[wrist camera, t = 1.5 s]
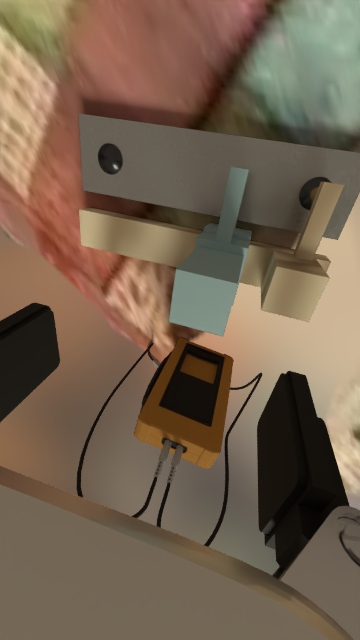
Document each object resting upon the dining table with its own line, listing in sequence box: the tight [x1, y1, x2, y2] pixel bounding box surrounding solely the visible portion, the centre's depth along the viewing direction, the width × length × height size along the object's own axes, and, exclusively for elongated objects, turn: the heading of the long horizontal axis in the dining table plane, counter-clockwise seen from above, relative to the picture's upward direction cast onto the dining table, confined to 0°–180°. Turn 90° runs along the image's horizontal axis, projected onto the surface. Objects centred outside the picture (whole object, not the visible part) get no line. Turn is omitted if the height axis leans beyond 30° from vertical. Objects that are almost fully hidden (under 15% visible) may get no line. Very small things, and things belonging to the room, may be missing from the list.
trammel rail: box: [79, 182, 344, 322], centre depth 21 cm, size 24×9×7 cm, turn 83°
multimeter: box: [77, 338, 262, 547], centre depth 25 cm, size 15×10×20 cm
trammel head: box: [169, 167, 252, 336], centre depth 19 cm, size 4×10×12 cm, turn 173°
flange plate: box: [79, 114, 360, 240], centre depth 22 cm, size 24×6×1 cm, turn 83°
